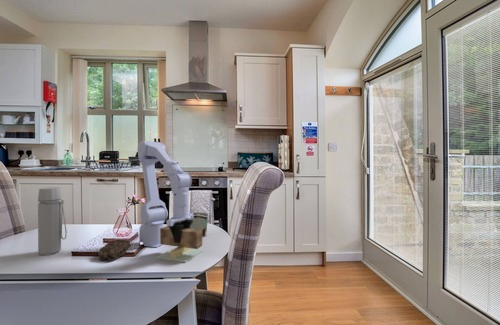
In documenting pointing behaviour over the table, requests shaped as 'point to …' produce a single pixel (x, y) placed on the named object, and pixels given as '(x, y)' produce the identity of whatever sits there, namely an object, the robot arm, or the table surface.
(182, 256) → the ridge stand
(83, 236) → the table surface
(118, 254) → the dark brown rock
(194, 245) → the walnut bar
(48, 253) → the water bottle
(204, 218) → the food container
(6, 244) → the table surface
